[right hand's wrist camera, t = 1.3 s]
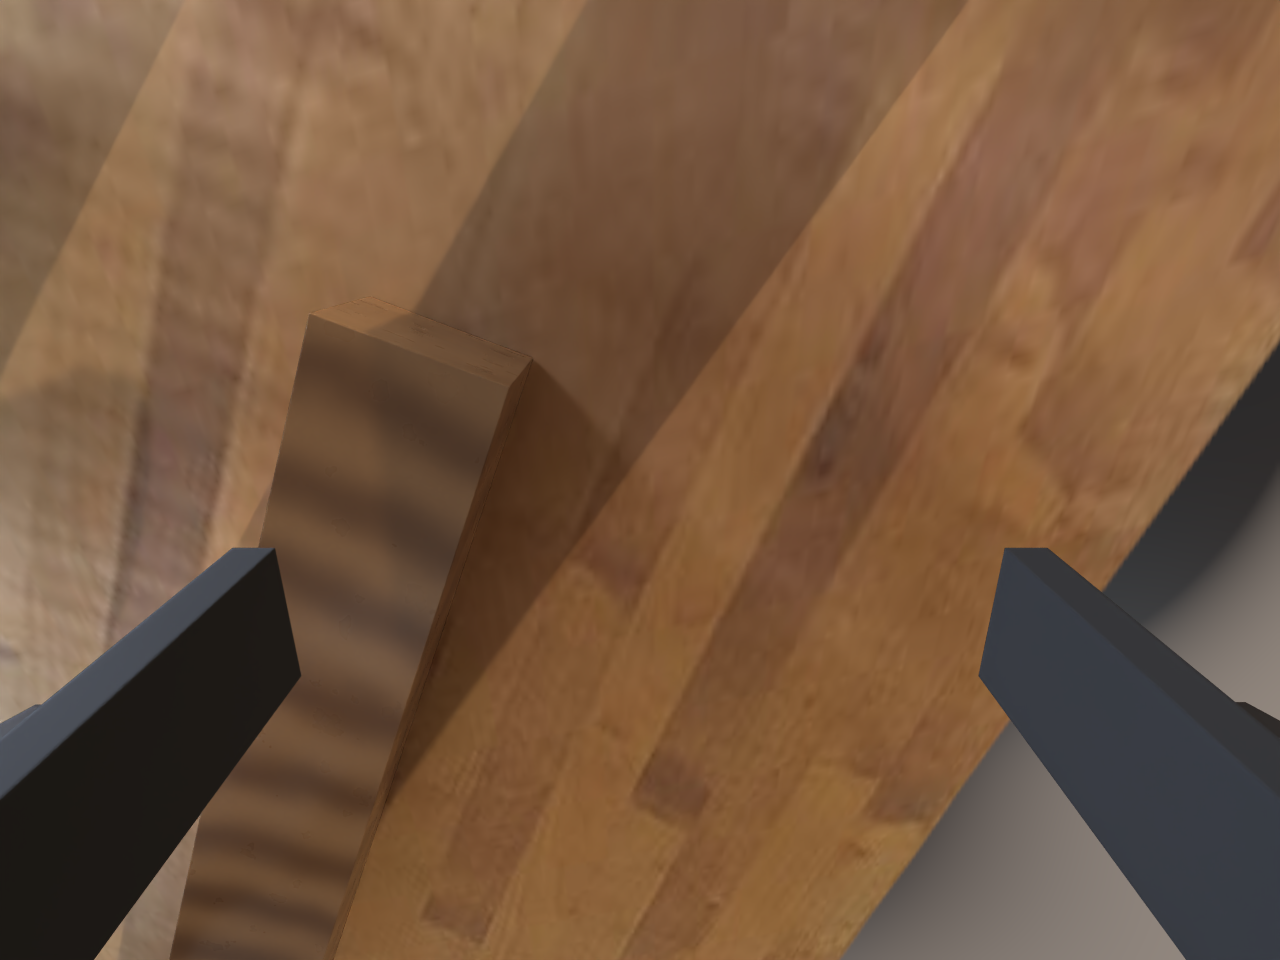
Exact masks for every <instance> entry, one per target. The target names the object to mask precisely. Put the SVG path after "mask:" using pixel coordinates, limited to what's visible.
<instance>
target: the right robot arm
mask: <svg viewBox="0 0 1280 960" xmlns="http://www.w3.org/2000/svg"><path fill="white" fill-rule="evenodd" d="M300 677H301V671H300V666H299V661H298V657H297V652H296V647H295V642H294V637H293V632H292V627H291V623H290V618H289V613H288V608H287V603H286V598H285V594H284V589H283V584H282V579H281V574H280V569H279V564H278V560H277V555H276V550H275V548H232V549H231V550H229V551H228V552H227V553H226V554H224V555H223V556H222V557H221V558H220V559H218V560H217V561H216V562H215V563H214V564H212V565H211V566H210V567H209V568H207V569H206V570H205V571H204V572H203V573H201V574H200V575H199V576H198V577H196V578H195V579H194V580H193V581H192V582H190V583H189V584H188V585H187V586H186V587H184V588H183V589H182V590H181V591H179V592H178V593H177V594H176V595H175V596H173V597H172V598H171V599H170V600H168V601H167V602H166V603H165V604H164V605H162V606H161V607H160V608H159V609H158V610H156V611H155V612H154V613H153V614H151V615H150V616H149V617H148V618H147V619H145V620H144V621H143V622H142V623H140V624H139V625H138V626H137V627H136V628H134V629H133V630H132V631H131V632H130V633H128V634H127V635H126V636H125V637H123V638H122V639H121V640H120V641H119V642H117V643H116V644H115V645H114V646H113V647H111V648H110V649H109V650H108V651H106V652H105V653H104V654H103V655H102V656H100V657H99V658H98V659H97V660H95V661H94V662H93V663H92V664H91V665H89V666H88V667H87V668H86V669H85V670H83V671H82V672H81V673H80V674H78V675H77V676H76V677H75V678H74V679H72V680H71V681H70V682H69V683H67V684H66V685H65V686H64V687H63V688H61V689H60V690H59V691H58V692H57V693H55V694H54V695H53V696H52V697H50V698H49V699H48V700H47V701H46V702H44V703H43V704H42V705H34V706H32V707H30V708H28V709H27V710H25V711H23V712H21V713H19V714H17V715H16V716H14V717H12V718H10V719H8V720H6V721H4V722H3V723H1V724H0V960H94V959H95V957H96V956H97V955H98V953H99V952H100V951H101V949H102V948H103V947H104V945H105V944H106V942H107V941H108V940H109V938H110V937H111V936H112V934H113V933H114V931H115V930H116V929H117V927H118V926H119V925H120V923H121V922H122V921H123V919H124V918H125V916H126V915H127V914H128V912H129V911H130V910H131V908H132V907H133V906H134V904H135V903H136V901H137V900H138V899H139V897H140V896H141V895H142V893H143V892H144V890H145V889H146V888H147V886H148V885H149V884H150V882H151V881H152V880H153V878H154V877H155V875H156V874H157V873H158V871H159V870H160V869H161V867H162V866H163V865H164V863H165V862H166V860H167V859H168V858H169V856H170V855H171V854H172V852H173V851H174V849H175V848H176V847H177V845H178V844H179V843H180V841H181V840H182V839H183V837H184V836H185V834H186V833H187V832H188V830H189V829H190V828H191V826H192V825H193V823H194V822H195V821H196V819H197V818H198V817H199V815H200V814H201V813H202V811H203V810H204V808H205V807H206V806H207V804H208V803H209V802H210V800H211V799H212V798H213V796H214V795H215V793H216V792H217V791H218V789H219V788H220V787H221V785H222V784H223V782H224V781H225V780H226V778H227V777H228V776H229V774H230V773H231V772H232V770H233V769H234V767H235V766H236V765H237V763H238V762H239V761H240V759H241V758H242V757H243V755H244V754H245V752H246V751H247V750H248V748H249V747H250V746H251V744H252V743H253V741H254V740H255V739H256V737H257V736H258V735H259V733H260V732H261V731H262V729H263V728H264V726H265V725H266V724H267V722H268V721H269V720H270V718H271V717H272V716H273V714H274V713H275V711H276V710H277V709H278V707H279V706H280V705H281V703H282V702H283V700H284V699H285V698H286V696H287V695H288V694H289V692H290V691H291V690H292V688H293V687H294V685H295V684H296V683H297V681H298V680H299V679H300ZM979 677H980V679H981V680H982V681H983V683H984V684H985V685H986V687H987V688H988V690H989V691H990V692H991V694H992V695H993V696H994V698H995V699H996V700H997V702H998V703H999V705H1000V706H1001V707H1002V709H1003V710H1004V711H1005V713H1006V714H1007V716H1008V717H1009V718H1010V720H1011V721H1012V722H1013V724H1014V725H1015V726H1016V728H1017V729H1018V731H1019V732H1020V733H1021V735H1022V736H1023V737H1024V739H1025V740H1026V741H1027V743H1028V744H1029V746H1030V747H1031V748H1032V750H1033V751H1034V752H1035V754H1036V755H1037V756H1038V758H1039V759H1040V761H1041V762H1042V763H1043V765H1044V766H1045V767H1046V769H1047V770H1048V772H1049V773H1050V774H1051V776H1052V777H1053V778H1054V780H1055V781H1056V782H1057V784H1058V785H1059V787H1060V788H1061V789H1062V791H1063V792H1064V793H1065V795H1066V796H1067V798H1068V799H1069V800H1070V802H1071V803H1072V804H1073V806H1074V807H1075V808H1076V810H1077V811H1078V813H1079V814H1080V815H1081V817H1082V818H1083V819H1084V821H1085V822H1086V823H1087V825H1088V826H1089V828H1090V829H1091V830H1092V832H1093V833H1094V834H1095V836H1096V837H1097V839H1098V840H1099V841H1100V843H1101V844H1102V845H1103V847H1104V848H1105V849H1106V851H1107V852H1108V853H1109V855H1110V856H1111V858H1112V859H1113V860H1114V862H1115V863H1116V864H1117V866H1118V867H1119V869H1120V870H1121V871H1122V873H1123V874H1124V875H1125V877H1126V878H1127V880H1128V881H1129V882H1130V884H1131V885H1132V886H1133V888H1134V889H1135V890H1136V892H1137V893H1138V895H1139V896H1140V897H1141V899H1142V900H1143V901H1144V903H1145V904H1146V906H1147V907H1148V908H1149V910H1150V911H1151V912H1152V914H1153V915H1154V916H1155V918H1156V919H1157V921H1158V922H1159V923H1160V925H1161V926H1162V927H1163V929H1164V930H1165V931H1166V933H1167V934H1168V936H1169V937H1170V938H1171V940H1172V941H1173V942H1174V944H1175V945H1176V947H1177V948H1178V949H1179V951H1180V952H1181V953H1182V955H1183V956H1184V957H1185V959H1186V960H1280V721H1279V720H1277V719H1276V718H1274V717H1272V716H1270V715H1268V714H1266V713H1264V712H1263V711H1261V710H1259V709H1257V708H1255V707H1253V706H1252V705H1250V704H1248V703H1246V702H1234V701H1233V700H1232V699H1231V698H1230V697H1228V696H1227V695H1226V694H1225V693H1223V692H1222V691H1221V690H1220V689H1219V688H1217V687H1216V686H1215V685H1214V684H1213V683H1211V682H1210V681H1209V680H1208V679H1206V678H1205V677H1204V676H1203V675H1202V674H1200V673H1199V672H1198V671H1197V670H1195V669H1194V668H1193V667H1192V666H1191V665H1189V664H1188V663H1187V662H1186V661H1185V660H1183V659H1182V658H1181V657H1180V656H1178V655H1177V654H1176V653H1175V652H1173V651H1172V650H1171V649H1170V648H1169V647H1167V646H1166V645H1165V644H1164V643H1163V642H1161V641H1160V640H1159V639H1158V638H1157V637H1155V636H1154V635H1153V634H1152V633H1150V632H1149V631H1148V630H1147V629H1146V628H1144V627H1143V626H1142V625H1141V624H1139V623H1138V622H1137V621H1136V620H1135V619H1133V618H1132V617H1131V616H1130V615H1129V614H1127V613H1126V612H1125V611H1124V610H1122V609H1121V608H1120V607H1119V606H1118V605H1116V604H1115V603H1114V602H1113V601H1112V600H1110V599H1109V598H1108V597H1107V596H1105V595H1104V594H1103V593H1102V592H1101V591H1099V590H1098V589H1097V588H1096V587H1094V586H1093V585H1092V584H1091V583H1090V582H1088V581H1087V580H1086V579H1085V578H1084V577H1082V576H1081V575H1080V574H1079V573H1077V572H1076V571H1075V570H1074V569H1073V568H1071V567H1070V566H1069V565H1068V564H1066V563H1065V562H1064V561H1063V560H1062V559H1060V558H1059V557H1058V556H1057V555H1056V554H1054V553H1053V552H1052V551H1051V550H1049V549H1048V548H1005V550H1004V555H1003V560H1002V564H1001V569H1000V574H999V579H998V584H997V589H996V593H995V598H994V603H993V608H992V613H991V618H990V623H989V627H988V632H987V637H986V642H985V647H984V652H983V657H982V661H981V666H980V671H979Z"/></svg>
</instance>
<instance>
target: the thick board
mask: <svg viewBox="0 0 1280 960" xmlns="http://www.w3.org/2000/svg"><path fill="white" fill-rule="evenodd" d="M532 360H533V358H532V357H529V356H527V355H524V354H521V353H519V352H516V351H513V350H511V349H508V348H505V347H503V346H500V345H497V344H495V343H492V342H489V341H487V340H484V339H482V338H479V337H476V336H474V335H471V334H468V333H466V332H463V331H460V330H458V329H455V328H452V327H450V326H447V325H444V324H442V323H439V322H436V321H434V320H431V319H429V318H426V317H423V316H421V315H418V314H415V313H413V312H410V311H407V310H405V309H402V308H399V307H397V306H394V305H391V304H389V303H386V302H383V301H381V300H378V299H375V298H373V297H366V298H362V299H359V300H355V301H352V302H348V303H344V304H341V305H337V306H333V307H330V308H326V309H322V310H319V311H315V312H311V313H309V317H308V321H307V326H306V331H305V335H304V340H303V345H302V349H301V354H300V358H299V363H298V368H297V372H296V377H295V381H294V386H293V391H292V395H291V400H290V405H289V409H288V414H287V418H286V423H285V428H284V432H283V437H282V441H281V446H280V451H279V455H278V460H277V465H276V469H275V474H274V478H273V483H272V488H271V492H270V497H269V501H268V506H267V511H266V515H265V520H264V525H263V529H262V534H261V538H260V543H259V548H275V550H276V555H277V560H278V564H279V569H280V574H281V579H282V584H283V589H284V594H285V598H286V603H287V608H288V613H289V618H290V623H291V627H292V632H293V637H294V642H295V647H296V652H297V657H298V661H299V666H300V671H301V677H300V679H299V680H298V681H297V683H296V684H295V685H294V687H293V688H292V690H291V691H290V692H289V694H288V695H287V696H286V698H285V699H284V700H283V702H282V703H281V705H280V706H279V707H278V709H277V710H276V711H275V713H274V714H273V716H272V717H271V718H270V720H269V721H268V722H267V724H266V725H265V726H264V728H263V729H262V731H261V732H260V733H259V735H258V736H257V737H256V739H255V740H254V741H253V743H252V744H251V746H250V747H249V748H248V750H247V751H246V752H245V754H244V755H243V757H242V758H241V759H240V761H239V762H238V763H237V765H236V766H235V767H234V769H233V770H232V772H231V773H230V774H229V776H228V777H227V778H226V780H225V781H224V782H223V784H222V785H221V787H220V788H219V789H218V791H217V792H216V793H215V795H214V796H213V798H212V799H211V800H210V802H209V803H208V804H207V806H206V807H205V808H204V810H203V811H202V813H201V815H200V820H199V825H198V829H197V834H196V839H195V843H194V848H193V852H192V857H191V862H190V866H189V871H188V876H187V880H186V885H185V889H184V894H183V899H182V903H181V908H180V912H179V917H178V922H177V926H176V931H175V936H174V940H173V945H172V949H171V954H170V959H169V960H333V959H334V956H335V953H336V950H337V947H338V944H339V941H340V938H341V935H342V932H343V929H344V926H345V923H346V920H347V917H348V914H349V911H350V908H351V905H352V902H353V899H354V896H355V893H356V890H357V887H358V884H359V881H360V878H361V874H362V871H363V868H364V865H365V862H366V859H367V856H368V853H369V850H370V847H371V844H372V841H373V838H374V835H375V832H376V829H377V826H378V823H379V820H380V817H381V814H382V811H383V808H384V805H385V802H386V799H387V796H388V793H389V790H390V787H391V784H392V781H393V778H394V775H395V772H396V769H397V766H398V763H399V760H400V757H401V754H402V751H403V748H404V745H405V742H406V739H407V736H408V733H409V730H410V727H411V724H412V721H413V718H414V715H415V712H416V709H417V706H418V703H419V700H420V697H421V694H422V691H423V688H424V685H425V682H426V679H427V676H428V673H429V670H430V667H431V664H432V661H433V658H434V655H435V652H436V649H437V646H438V643H439V640H440V637H441V634H442V631H443V628H444V625H445V622H446V619H447V616H448V613H449V610H450V607H451V604H452V601H453V598H454V595H455V592H456V589H457V586H458V583H459V580H460V577H461V574H462V571H463V568H464V565H465V562H466V559H467V556H468V553H469V550H470V547H471V544H472V541H473V537H474V534H475V531H476V528H477V525H478V522H479V519H480V516H481V513H482V510H483V507H484V504H485V501H486V498H487V495H488V492H489V489H490V486H491V483H492V480H493V477H494V474H495V471H496V468H497V465H498V462H499V459H500V456H501V453H502V450H503V447H504V444H505V441H506V438H507V435H508V432H509V429H510V426H511V423H512V420H513V417H514V414H515V411H516V408H517V405H518V402H519V399H520V396H521V393H522V390H523V387H524V384H525V381H526V378H527V375H528V372H529V369H530V366H531V363H532Z"/></svg>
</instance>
